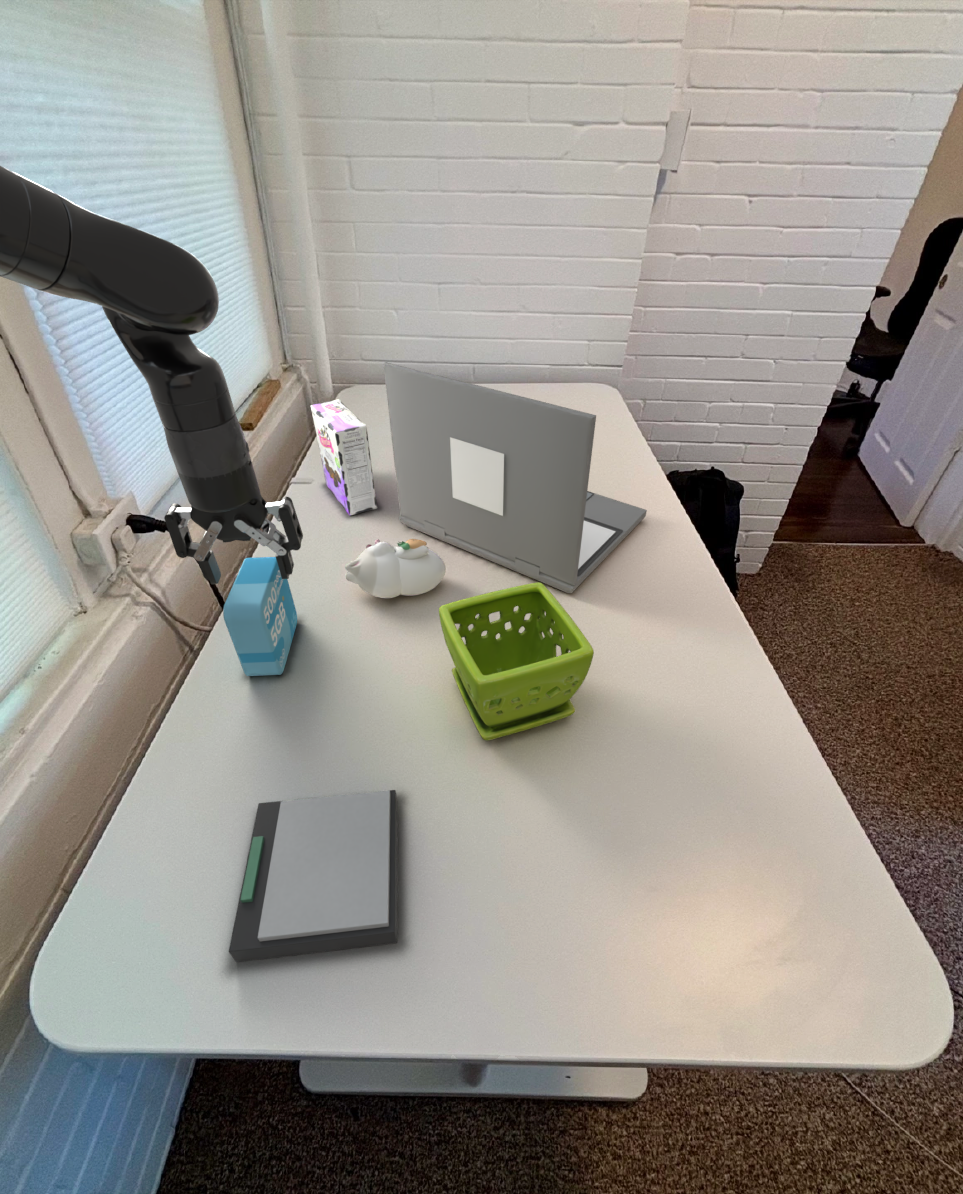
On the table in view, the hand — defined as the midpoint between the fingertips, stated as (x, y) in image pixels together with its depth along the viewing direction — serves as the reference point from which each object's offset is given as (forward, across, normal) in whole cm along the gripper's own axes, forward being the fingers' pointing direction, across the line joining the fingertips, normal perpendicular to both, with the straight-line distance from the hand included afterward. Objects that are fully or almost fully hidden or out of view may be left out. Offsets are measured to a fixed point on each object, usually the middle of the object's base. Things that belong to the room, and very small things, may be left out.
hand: (252, 577), depth 74 cm
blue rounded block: (+12, 0, 0) cm, 13 cm away
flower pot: (+13, +31, -13) cm, 36 cm away
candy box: (+13, +8, +41) cm, 44 cm away
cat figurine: (+13, +17, +11) cm, 24 cm away
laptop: (+13, +39, +27) cm, 49 cm away
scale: (+12, +10, -32) cm, 36 cm away
